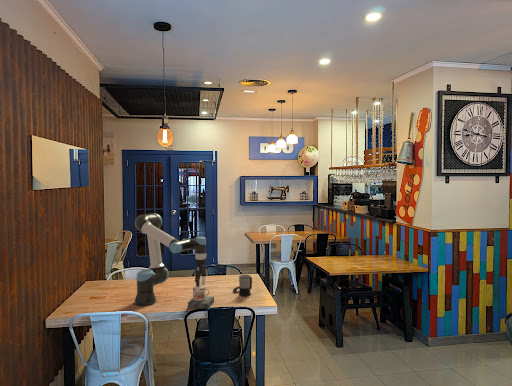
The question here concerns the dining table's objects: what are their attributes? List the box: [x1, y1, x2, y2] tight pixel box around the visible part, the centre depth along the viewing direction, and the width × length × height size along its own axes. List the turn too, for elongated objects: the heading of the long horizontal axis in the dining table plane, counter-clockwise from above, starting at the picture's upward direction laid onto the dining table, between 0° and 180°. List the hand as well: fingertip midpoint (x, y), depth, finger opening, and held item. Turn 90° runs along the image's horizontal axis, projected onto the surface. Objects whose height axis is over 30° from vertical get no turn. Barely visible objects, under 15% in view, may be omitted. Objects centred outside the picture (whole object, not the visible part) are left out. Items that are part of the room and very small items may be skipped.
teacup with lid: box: [192, 284, 210, 301], centre depth 268 cm, size 12×9×12 cm
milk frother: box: [232, 274, 253, 297], centre depth 294 cm, size 14×16×15 cm
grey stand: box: [187, 295, 215, 310], centre depth 268 cm, size 15×15×4 cm
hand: (200, 288), depth 267 cm, fingers open, 13 cm apart
